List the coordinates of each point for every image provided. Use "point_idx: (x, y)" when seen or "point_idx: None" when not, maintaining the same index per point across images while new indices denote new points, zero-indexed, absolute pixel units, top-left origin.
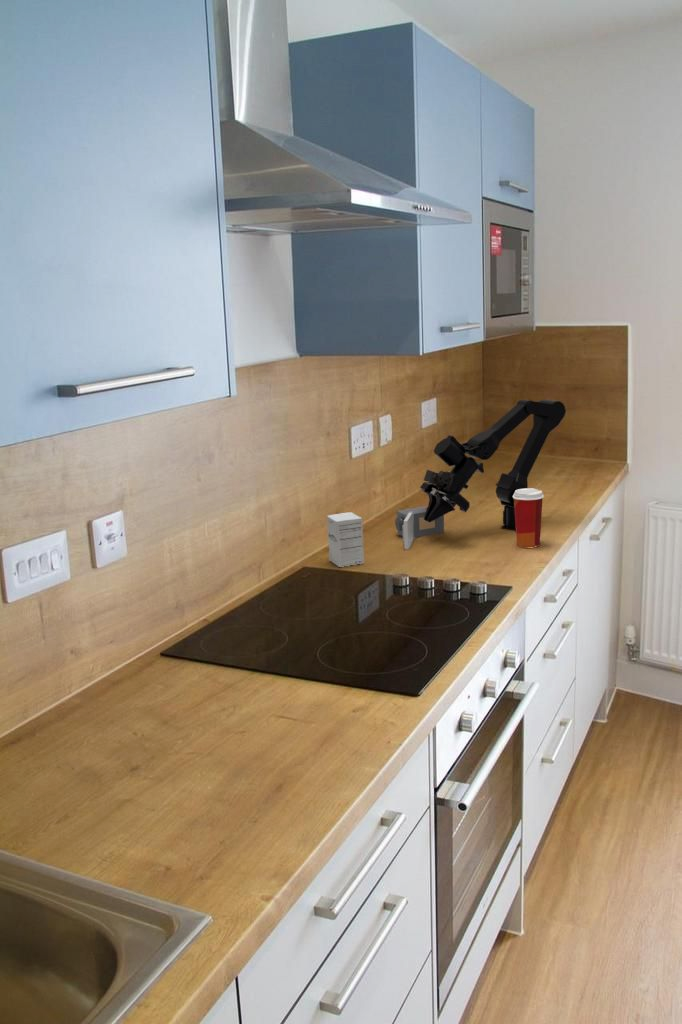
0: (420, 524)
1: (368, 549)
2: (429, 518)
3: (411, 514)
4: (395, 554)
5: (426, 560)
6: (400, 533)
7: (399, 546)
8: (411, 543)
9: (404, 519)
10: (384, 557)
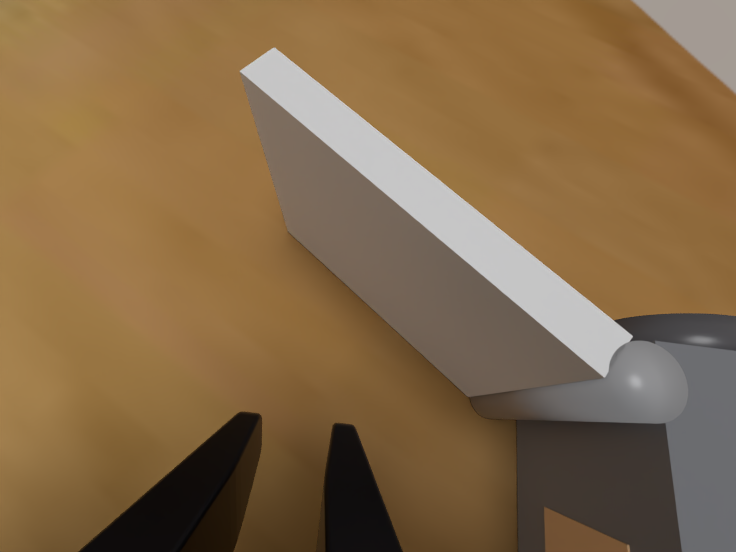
0: (575, 536)
1: (448, 78)
2: (213, 442)
3: (511, 302)
4: None
5: (11, 183)
6: None
7: None
8: (392, 327)
9: None
10: None
